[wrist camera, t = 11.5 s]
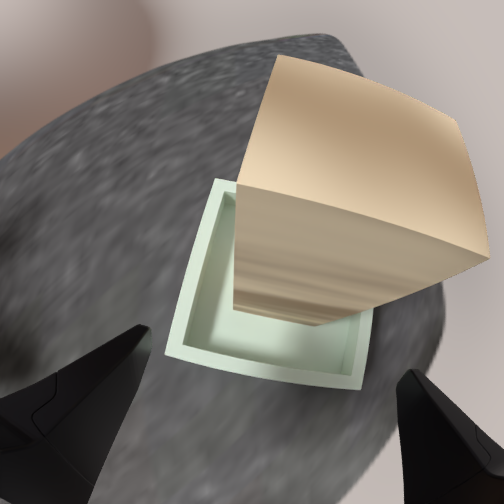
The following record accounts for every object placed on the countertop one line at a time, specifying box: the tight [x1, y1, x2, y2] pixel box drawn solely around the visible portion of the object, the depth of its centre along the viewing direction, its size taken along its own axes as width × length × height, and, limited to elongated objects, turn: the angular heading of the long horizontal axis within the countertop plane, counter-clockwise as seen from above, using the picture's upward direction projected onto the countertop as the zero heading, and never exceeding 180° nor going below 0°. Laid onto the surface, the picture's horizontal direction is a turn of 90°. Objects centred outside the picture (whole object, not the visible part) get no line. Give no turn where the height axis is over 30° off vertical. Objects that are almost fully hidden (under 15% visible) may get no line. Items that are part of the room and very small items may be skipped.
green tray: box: [165, 178, 373, 390], centre depth 16 cm, size 11×11×2 cm
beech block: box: [233, 55, 490, 327], centre depth 11 cm, size 4×5×13 cm
